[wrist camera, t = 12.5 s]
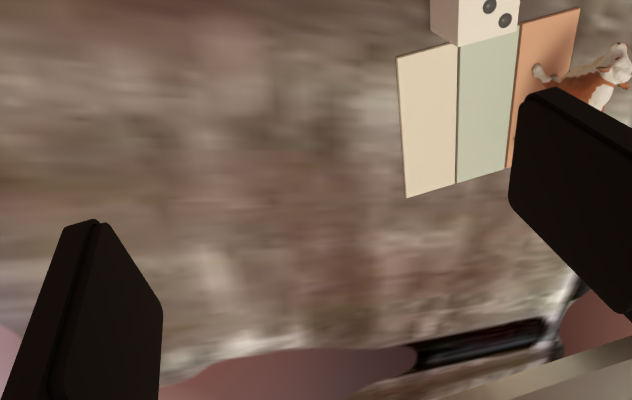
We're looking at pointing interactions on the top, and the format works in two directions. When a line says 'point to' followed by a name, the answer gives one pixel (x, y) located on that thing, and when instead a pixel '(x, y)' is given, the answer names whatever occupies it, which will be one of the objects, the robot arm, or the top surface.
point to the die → (473, 19)
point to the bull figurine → (593, 77)
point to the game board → (474, 100)
